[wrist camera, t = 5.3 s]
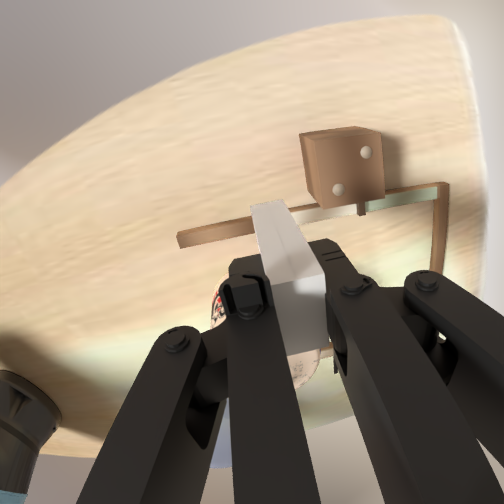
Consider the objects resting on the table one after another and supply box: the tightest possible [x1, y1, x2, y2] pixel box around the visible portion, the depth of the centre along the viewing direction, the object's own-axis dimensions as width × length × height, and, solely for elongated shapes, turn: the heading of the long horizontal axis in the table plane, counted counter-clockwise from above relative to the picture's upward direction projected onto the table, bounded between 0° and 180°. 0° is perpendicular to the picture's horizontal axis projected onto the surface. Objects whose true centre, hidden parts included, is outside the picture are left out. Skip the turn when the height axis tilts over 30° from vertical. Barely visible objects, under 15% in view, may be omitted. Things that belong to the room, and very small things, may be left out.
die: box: [299, 126, 385, 210], centre depth 23 cm, size 5×5×5 cm
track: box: [176, 182, 449, 359], centre depth 30 cm, size 26×18×2 cm
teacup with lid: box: [210, 272, 321, 390], centre depth 26 cm, size 12×9×12 cm
